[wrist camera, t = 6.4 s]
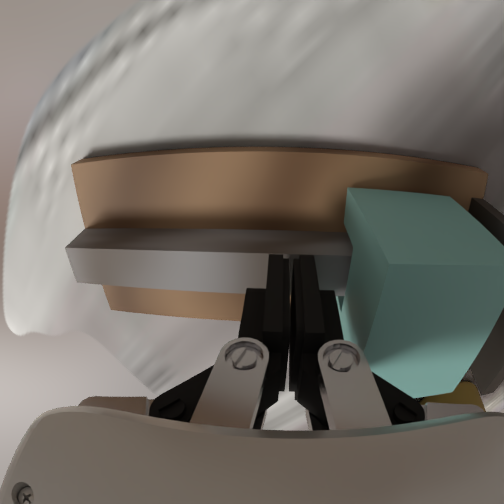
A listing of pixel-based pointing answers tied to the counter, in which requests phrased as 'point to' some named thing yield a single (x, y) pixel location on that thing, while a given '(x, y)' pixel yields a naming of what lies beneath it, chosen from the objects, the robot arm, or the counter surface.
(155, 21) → the counter surface
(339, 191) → the rail
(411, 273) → the slider block
